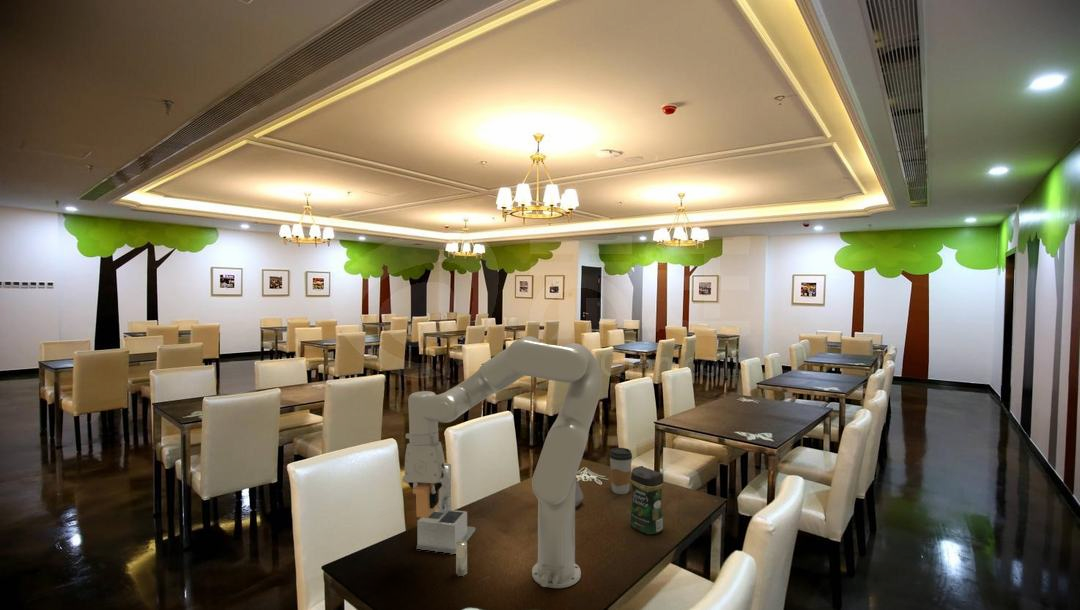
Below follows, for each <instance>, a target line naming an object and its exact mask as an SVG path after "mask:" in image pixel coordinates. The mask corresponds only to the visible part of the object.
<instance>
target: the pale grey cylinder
mask: <svg viewBox="0 0 1080 610" xmlns="http://www.w3.org/2000/svg"><path fill="white" fill-rule="evenodd" d="M455 569H456V570H455V573H456V574H457V575H458V576H457V575H456V574H455V575H456V576H457V577H459V576H463V577H465V576H464V575H466V574H467V575H468V541H467V542H466V541H458V542H457V543H456V555H455ZM467 575H466V576H467Z"/></svg>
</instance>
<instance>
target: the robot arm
mask: <svg viewBox="0 0 1080 610" xmlns="http://www.w3.org/2000/svg"><path fill="white" fill-rule="evenodd" d="M524 376H527V377H532V378H535V379H536V378H537V379H541V380H547V381H553V382H559V383H568V384H567V389H566V392H565V395H564V396H563V401H562V404H561V407H560V410H559V412H558V415H557V417H556V419H555V421H554V422H553V424H552V426H551V427H550V429H549V430H548V432H547V436H546V437H545V440H544V443H543V447H542V448H541V449H542V450H541V452H540V454H539V458H538V461H537V464H536V467H535V470H534V471H535V472H534V471H533V476H532V477H531V478H532V479H531V486H532V487H531V488H532V491H533V493H534V496H535V497H536V499H537V500H538V501H537V562H536V563H535V564H534V565H533V567H532V569H531V576H532V578H533V580H534V582H536V583H537V584H538V585H540V586H541V587H543V588H552V589H564V588H568V587H571V586H573V585H575V584H577V583H578V582H579V581H580V580H581V576H582V570H581V568H580V566H579V565H578V564H576V554H575V553H576V537H575V536H576V507H575V492H576V479H577V473H578V470H579V468H580V466H581V462H582V460H583V456H584V454H585V453H584V452H585V450H586V447H587V444H588V440H589V432H590V427H591V425H592V422H593V420H594V416H595V413H596V409H597V406H598V403H599V399H600V397H601V392H602V386H603V384H602V383H603V379H602V378H603V377H602V371H601V367H600V365H599V362H598V360H597V358H596V356H595V355H594V354H593V353H592V352H591V350H589V349H588V348H587V347H586V346H584V345H583V344H580V343H576V342H572V343H567V344H566V345H563V346H561V345H560V346H559V345H554V344H547V343H542V341H541V340H539V339H538V338H536V337H534V336H531V335H529V336H524V337H521V338H518V339H516V340H515V341H513V342H512V343H510V345H509V346H508V347H507V348H505V349H503V350H502V351H501V352H498V353H497V354H496V355H494V356H493V357H491V358H490V359H488V360H487V361H485V362H484V363H482V364H481V366H479V368H478V370H477V371H475V372H474V373H473V374H471V375H470V376H468V377H467V378H466V379H465V380H463V381H462V382H459V384H457V385H455V386H453V387H452V388H450V389H449V390H447V391H445V392H441V393H439V394H436V393H435V391H434V392H433V391H429V390H423V391H415V392H413V393H410V395H409V396H408V399H407V402H408V407H407V408H408V425H409V426H408V427H409V430H408V431H409V432H408V433H405V439H408V440H409V443H407V444H406V448H405V449H406V450H405V457H404V475H403V477H402V481H403V482H404V483H405V484H407V485H408V486H409V487H410V488H411V489H412V490H413V488H415V487H416V486H417V485H418V484H420V483H430V487H431V493H430V508H431V509H433V508H434V507H435V506H436V505H437V506H438V504H439V489H440V488H441V487H442V486H444V485H446V484H447V483H448V482H449V481H450V479H449V478H448V476H447V474H446V472H445V464H446V461H445V455H444V450H443V445H442V442H441V441H439V440H440V439H439V423H451V422H453V421H455V420H456V419H458V418H459V417H461V416H462V415H463V414H465V413H466V412H467V411H469V410H470V409H472V408H473V407H475V406H476V405H478V404H479V403H481V402H482V401H484V400H485V399H487V398H488V397H490V396H492V395H495V394H497V393H500V392H502V391H503V390H505V389H506V388H508V387H510V386H511V385H512V384H514V383H515V382H517V381H518V380H520V379H521V378H523V377H524ZM441 478H442V481H440V480H441ZM439 481H440V482H439ZM414 497H415V499H414V501H415V502H414V503H416V494H414Z"/></svg>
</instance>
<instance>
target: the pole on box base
mask: <svg viewBox="0 0 1080 610" xmlns="http://www.w3.org/2000/svg"><path fill="white" fill-rule="evenodd" d="M445 472H446V474H447V476H448V478H449V479H450V481H449V482H448V483H447V484H446V485H444V486H442V487H441V488H440V489H439V490H438V507H439V508H438V507H437V509H436V510H435V511H434V512H433V513H432V514H431V515H430V516H429V517H428V518H425V517H419V519H418V520H417V522H416V523H417V525H416V526H417V532H416V533H417V537H416V538H417V543H416V544H417V545H416V550H417V549H421V550H429V551H435V552H434V553H437V552H444V553H443V554H445V553H450V554H449V555H453V554H456V543H457V542H458V541H466V542H467V543H468V541H469V539H470V538H471V537H472V536H473V534H474V533H475V531H476V527H475V526H470V525H469V526H468V511H464V510H455V509H452V464H450V463H445ZM440 481H442V478H441V480H440ZM440 481H439V482H440ZM421 550H420V551H421ZM429 551H428V552H429Z"/></svg>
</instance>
